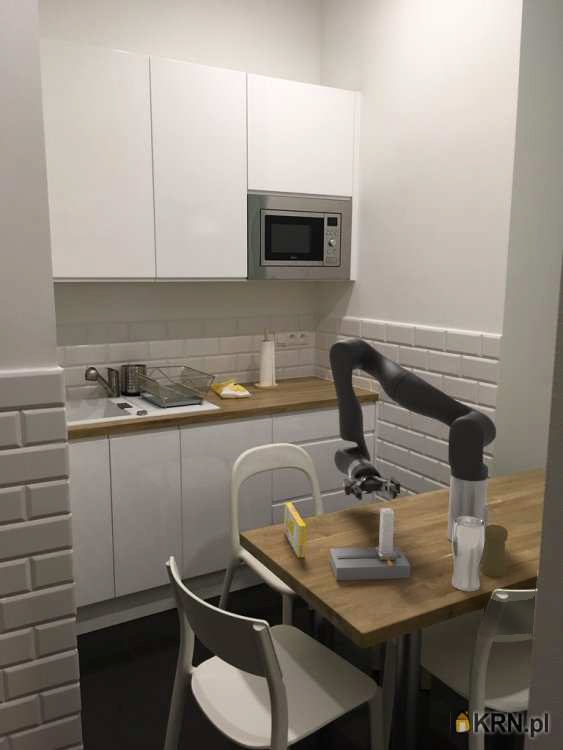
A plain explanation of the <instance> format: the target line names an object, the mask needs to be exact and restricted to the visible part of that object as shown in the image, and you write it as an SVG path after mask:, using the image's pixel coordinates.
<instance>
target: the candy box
mask: <svg viewBox="0 0 563 750" xmlns="http://www.w3.org/2000/svg"><path fill="white" fill-rule="evenodd" d="M301 517H302V516H300V514H299V512H298V511H297V510H296V508H295V506H294V505H293V503H292V502H285V505H284V520H283V521H284V525H283V526H284V527H283V532H284V534H285V537H286V538H287V539H288V542H289V544H290V546H291V547H292V550H293V552H294V553H295V555H296V557H297V558H298V557H299V558H300V557H301V558H305V556H306V543H307V542H306V541H307V539H306V538H307V525H306V524H305V522H304V520H303V518H301ZM301 558H300V559H301Z"/></svg>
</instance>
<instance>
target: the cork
mask: <svg viewBox="0 0 563 750" xmlns="http://www.w3.org/2000/svg"><path fill="white" fill-rule="evenodd" d="M508 535H509V533H508V530H507V528H505V527H504V526H503V525H499V524H488V526H487V527H486V528H485V538H486V543H485V544H484V551H483V555H482V559H481V563H480V567H479V572H481V573H482V574H483V575H485V576H488V577H490V578H491V577H493V578H503V577H506V576H507V575H508V569H507V568H508V567H507V554H506V553H507V552H506V542H507V540H508V537H509V536H508Z"/></svg>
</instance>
